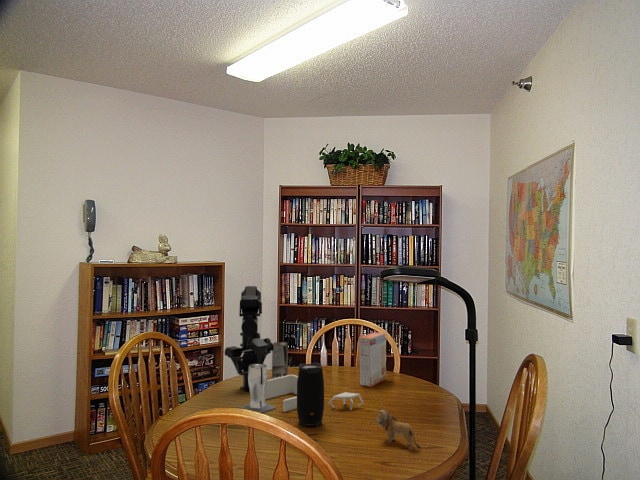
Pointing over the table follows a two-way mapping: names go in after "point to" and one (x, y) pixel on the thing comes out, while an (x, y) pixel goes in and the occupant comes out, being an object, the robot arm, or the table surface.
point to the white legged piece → (346, 395)
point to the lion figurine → (395, 428)
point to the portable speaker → (310, 394)
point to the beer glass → (257, 385)
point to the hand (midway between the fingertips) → (249, 372)
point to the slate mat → (267, 408)
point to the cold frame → (283, 390)
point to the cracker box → (372, 359)
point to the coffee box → (280, 359)
